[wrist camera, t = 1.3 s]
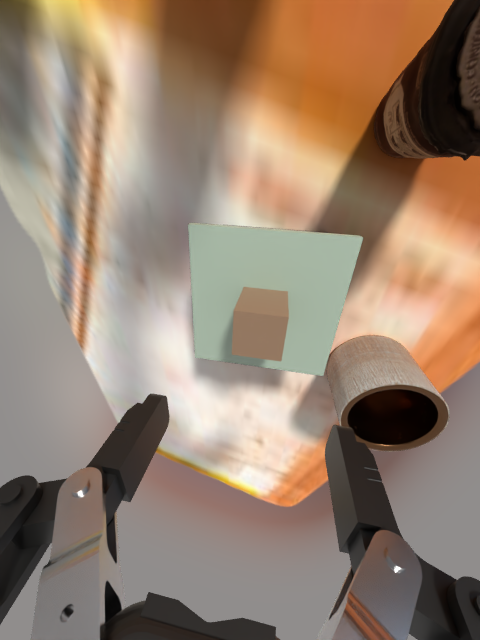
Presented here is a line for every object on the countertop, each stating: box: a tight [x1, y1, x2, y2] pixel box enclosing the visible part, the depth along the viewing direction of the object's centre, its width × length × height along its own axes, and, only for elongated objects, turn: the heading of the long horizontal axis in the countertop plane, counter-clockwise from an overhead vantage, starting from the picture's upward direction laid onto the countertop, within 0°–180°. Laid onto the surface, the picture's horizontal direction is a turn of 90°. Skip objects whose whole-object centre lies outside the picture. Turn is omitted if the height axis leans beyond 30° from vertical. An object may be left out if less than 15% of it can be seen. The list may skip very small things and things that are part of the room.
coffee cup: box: [374, 0, 480, 161], centre depth 15 cm, size 9×8×13 cm
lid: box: [188, 223, 363, 376], centre depth 21 cm, size 14×14×7 cm
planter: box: [327, 335, 450, 451], centre depth 30 cm, size 11×11×10 cm
